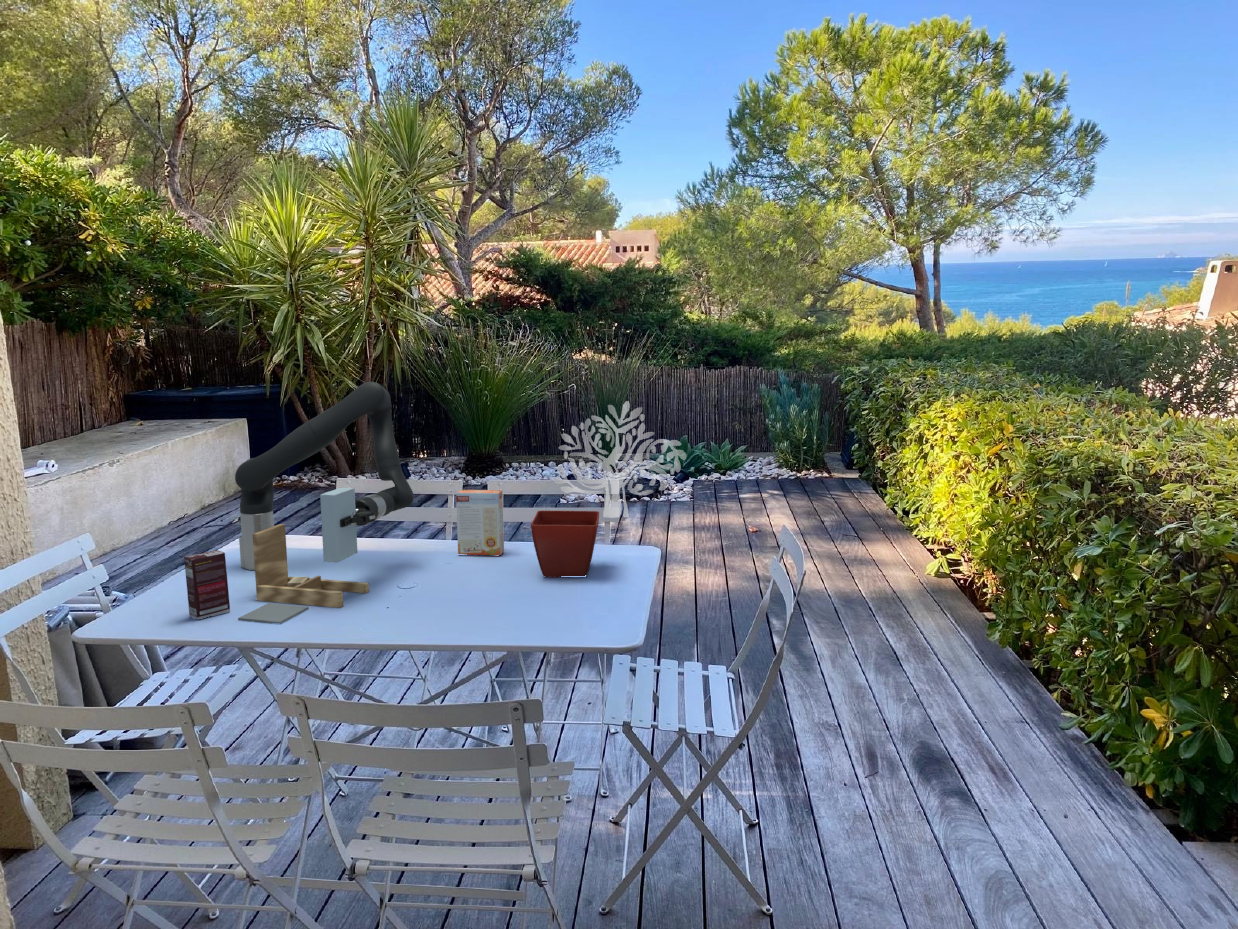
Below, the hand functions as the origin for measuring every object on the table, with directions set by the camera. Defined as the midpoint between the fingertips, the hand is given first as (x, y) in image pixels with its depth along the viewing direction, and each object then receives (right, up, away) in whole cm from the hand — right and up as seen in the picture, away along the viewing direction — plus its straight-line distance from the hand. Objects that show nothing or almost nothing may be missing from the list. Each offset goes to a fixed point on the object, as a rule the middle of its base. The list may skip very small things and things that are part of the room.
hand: (333, 523), depth 225 cm
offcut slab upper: (-13, -18, +10) cm, 24 cm away
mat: (-13, -23, -7) cm, 27 cm away
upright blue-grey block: (+1, -9, +4) cm, 10 cm away
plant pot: (+60, -17, +31) cm, 69 cm away
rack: (-8, -20, +8) cm, 23 cm away
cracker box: (+31, -14, +52) cm, 62 cm away
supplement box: (-29, -23, -7) cm, 38 cm away
